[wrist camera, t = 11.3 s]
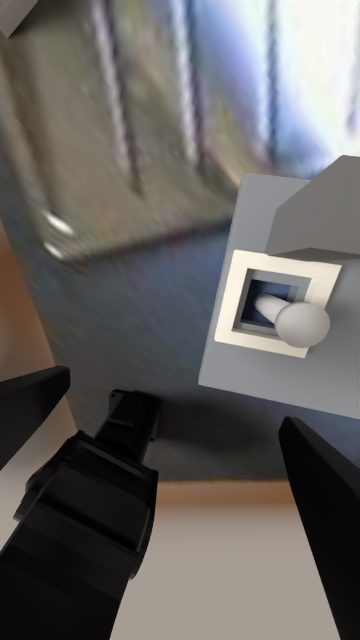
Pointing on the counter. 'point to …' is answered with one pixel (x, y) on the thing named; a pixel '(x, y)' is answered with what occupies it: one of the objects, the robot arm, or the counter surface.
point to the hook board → (274, 368)
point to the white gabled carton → (13, 14)
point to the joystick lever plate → (301, 248)
